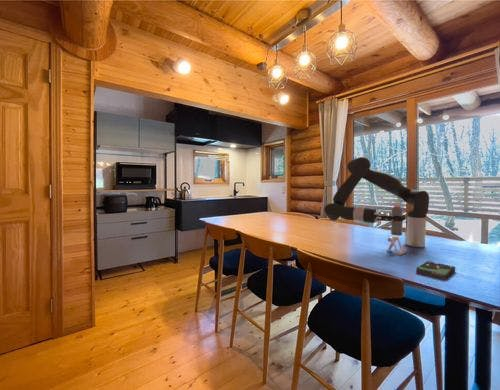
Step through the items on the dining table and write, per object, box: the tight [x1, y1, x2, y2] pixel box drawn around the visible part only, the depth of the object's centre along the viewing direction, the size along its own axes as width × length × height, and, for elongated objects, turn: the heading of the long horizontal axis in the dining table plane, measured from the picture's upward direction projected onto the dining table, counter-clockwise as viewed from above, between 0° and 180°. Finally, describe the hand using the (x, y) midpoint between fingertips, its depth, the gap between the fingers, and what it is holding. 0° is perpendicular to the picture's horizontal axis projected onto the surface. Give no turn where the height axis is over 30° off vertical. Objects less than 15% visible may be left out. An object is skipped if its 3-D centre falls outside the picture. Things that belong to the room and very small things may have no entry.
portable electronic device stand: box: [386, 235, 408, 256], centre depth 135 cm, size 9×8×8 cm
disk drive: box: [416, 260, 456, 281], centre depth 107 cm, size 10×3×15 cm
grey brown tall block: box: [390, 201, 404, 237], centre depth 116 cm, size 4×4×15 cm
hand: (403, 218), depth 114 cm, fingers closed on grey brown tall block, 4 cm apart
